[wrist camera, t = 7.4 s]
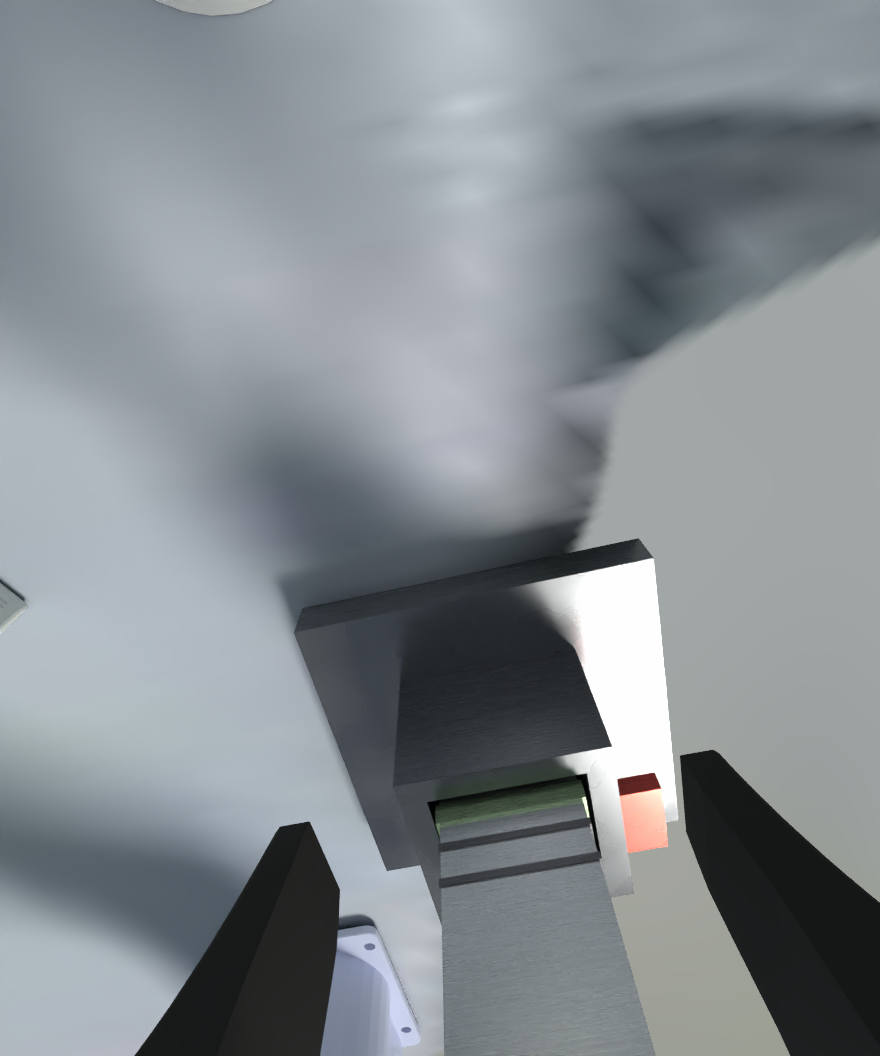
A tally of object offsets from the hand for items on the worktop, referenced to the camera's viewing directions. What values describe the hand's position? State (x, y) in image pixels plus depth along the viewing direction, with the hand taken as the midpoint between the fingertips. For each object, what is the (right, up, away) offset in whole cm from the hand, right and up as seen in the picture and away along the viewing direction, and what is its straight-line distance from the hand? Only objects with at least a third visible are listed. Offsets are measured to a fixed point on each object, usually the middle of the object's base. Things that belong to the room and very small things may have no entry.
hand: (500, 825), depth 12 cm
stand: (+1, -1, +12) cm, 12 cm away
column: (+1, -3, +8) cm, 8 cm away
